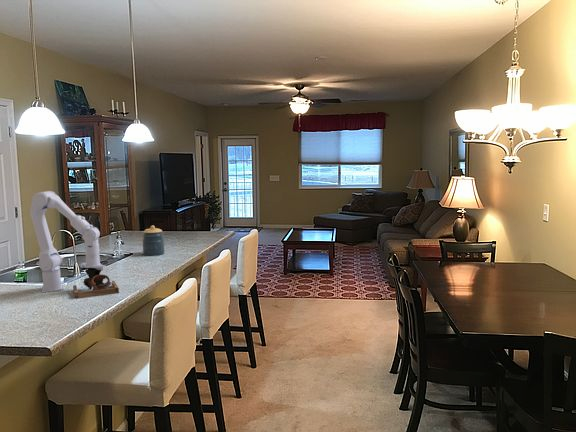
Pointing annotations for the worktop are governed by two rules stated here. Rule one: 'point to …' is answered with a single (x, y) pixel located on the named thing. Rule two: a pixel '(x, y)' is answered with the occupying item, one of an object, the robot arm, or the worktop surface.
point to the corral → (96, 291)
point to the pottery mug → (97, 282)
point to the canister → (153, 242)
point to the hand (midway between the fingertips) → (94, 284)
